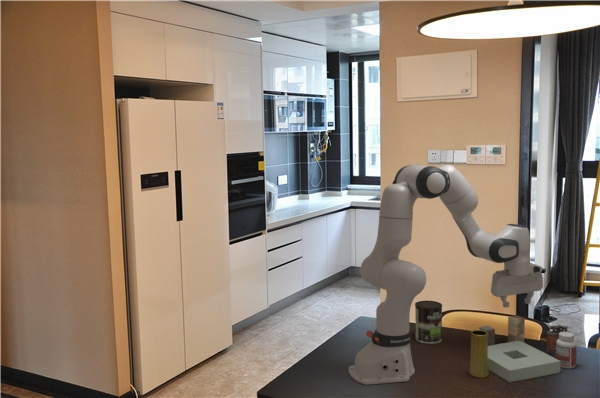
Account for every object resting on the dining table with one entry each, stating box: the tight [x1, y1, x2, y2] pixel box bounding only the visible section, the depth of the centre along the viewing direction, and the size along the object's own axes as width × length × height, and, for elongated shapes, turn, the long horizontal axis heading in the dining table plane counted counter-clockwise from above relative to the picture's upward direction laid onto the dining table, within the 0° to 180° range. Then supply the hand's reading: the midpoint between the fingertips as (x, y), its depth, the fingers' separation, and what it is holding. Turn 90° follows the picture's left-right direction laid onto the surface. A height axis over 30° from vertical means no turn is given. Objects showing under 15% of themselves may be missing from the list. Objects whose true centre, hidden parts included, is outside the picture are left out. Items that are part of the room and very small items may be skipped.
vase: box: [469, 329, 490, 379], centre depth 187 cm, size 6×6×14 cm
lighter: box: [546, 324, 572, 355], centre depth 203 cm, size 8×3×10 cm, turn 84°
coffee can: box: [414, 300, 443, 345], centre depth 219 cm, size 10×10×14 cm
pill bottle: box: [555, 331, 577, 369], centre depth 191 cm, size 6×6×11 cm
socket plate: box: [488, 341, 561, 383], centre depth 193 cm, size 20×20×4 cm
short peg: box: [478, 325, 496, 346], centre depth 214 cm, size 4×4×6 cm
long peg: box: [507, 314, 526, 343], centre depth 206 cm, size 4×4×12 cm
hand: (516, 305), depth 205 cm, fingers open, 8 cm apart
